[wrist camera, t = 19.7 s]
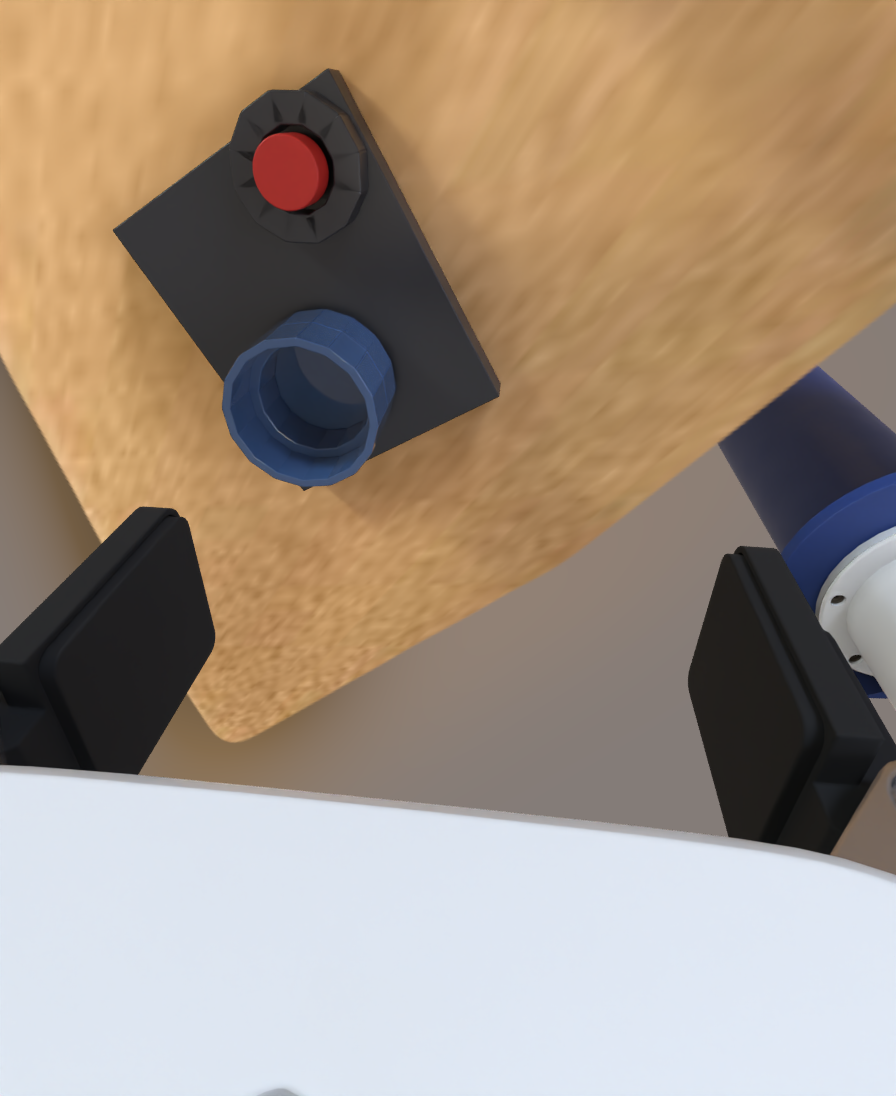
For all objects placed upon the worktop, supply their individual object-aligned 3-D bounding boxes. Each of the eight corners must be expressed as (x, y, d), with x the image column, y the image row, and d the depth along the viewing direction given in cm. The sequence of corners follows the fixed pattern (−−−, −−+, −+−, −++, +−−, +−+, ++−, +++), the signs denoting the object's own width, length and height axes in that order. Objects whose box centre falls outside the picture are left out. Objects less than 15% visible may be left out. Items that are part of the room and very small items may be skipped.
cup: (421, 405, 35) (405, 449, 30) (314, 458, 38) (284, 507, 33) (347, 279, 32) (317, 308, 27) (235, 347, 34) (190, 384, 30)
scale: (500, 383, 36) (498, 407, 33) (312, 476, 40) (295, 504, 37) (334, 61, 29) (312, 56, 26) (126, 217, 33) (88, 228, 30)
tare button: (341, 184, 28) (331, 188, 27) (291, 219, 29) (278, 224, 28) (304, 117, 27) (292, 118, 26) (252, 155, 28) (238, 157, 27)
